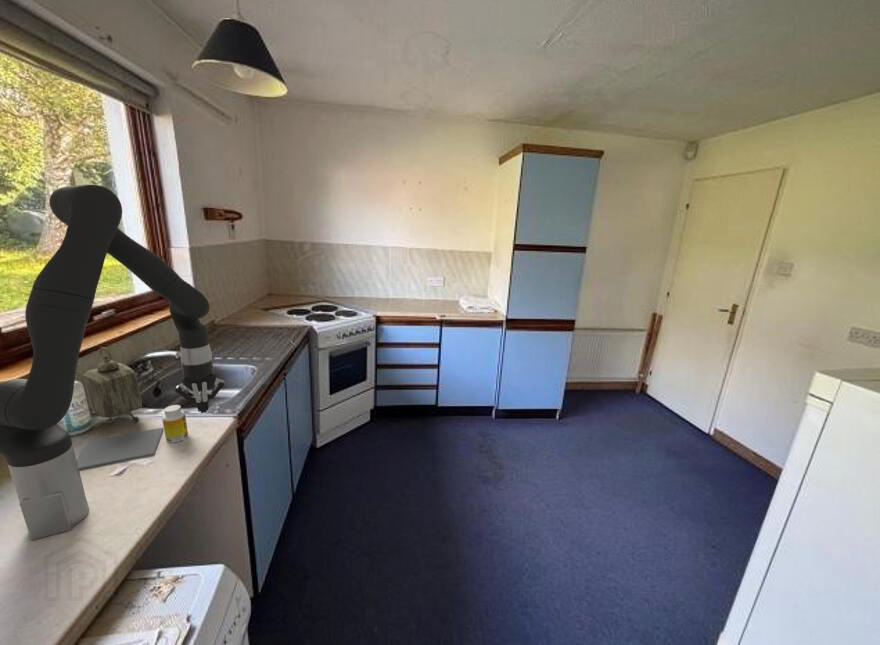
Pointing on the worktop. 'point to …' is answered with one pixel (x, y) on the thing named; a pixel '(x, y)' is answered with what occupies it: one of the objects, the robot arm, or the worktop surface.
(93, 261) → the robot arm
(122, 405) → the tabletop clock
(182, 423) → the supplement bottle
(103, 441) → the mat
